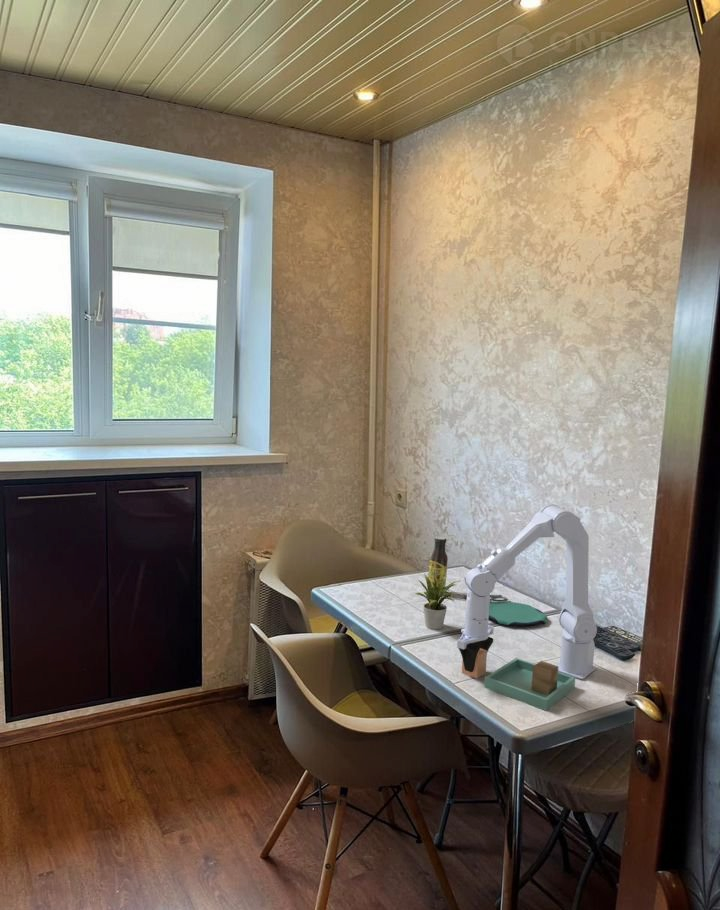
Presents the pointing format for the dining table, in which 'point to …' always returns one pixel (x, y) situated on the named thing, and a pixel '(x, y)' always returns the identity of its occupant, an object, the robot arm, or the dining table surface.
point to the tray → (526, 684)
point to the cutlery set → (513, 612)
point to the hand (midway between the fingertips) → (474, 667)
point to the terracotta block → (477, 665)
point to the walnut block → (544, 678)
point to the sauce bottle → (438, 561)
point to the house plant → (435, 602)
